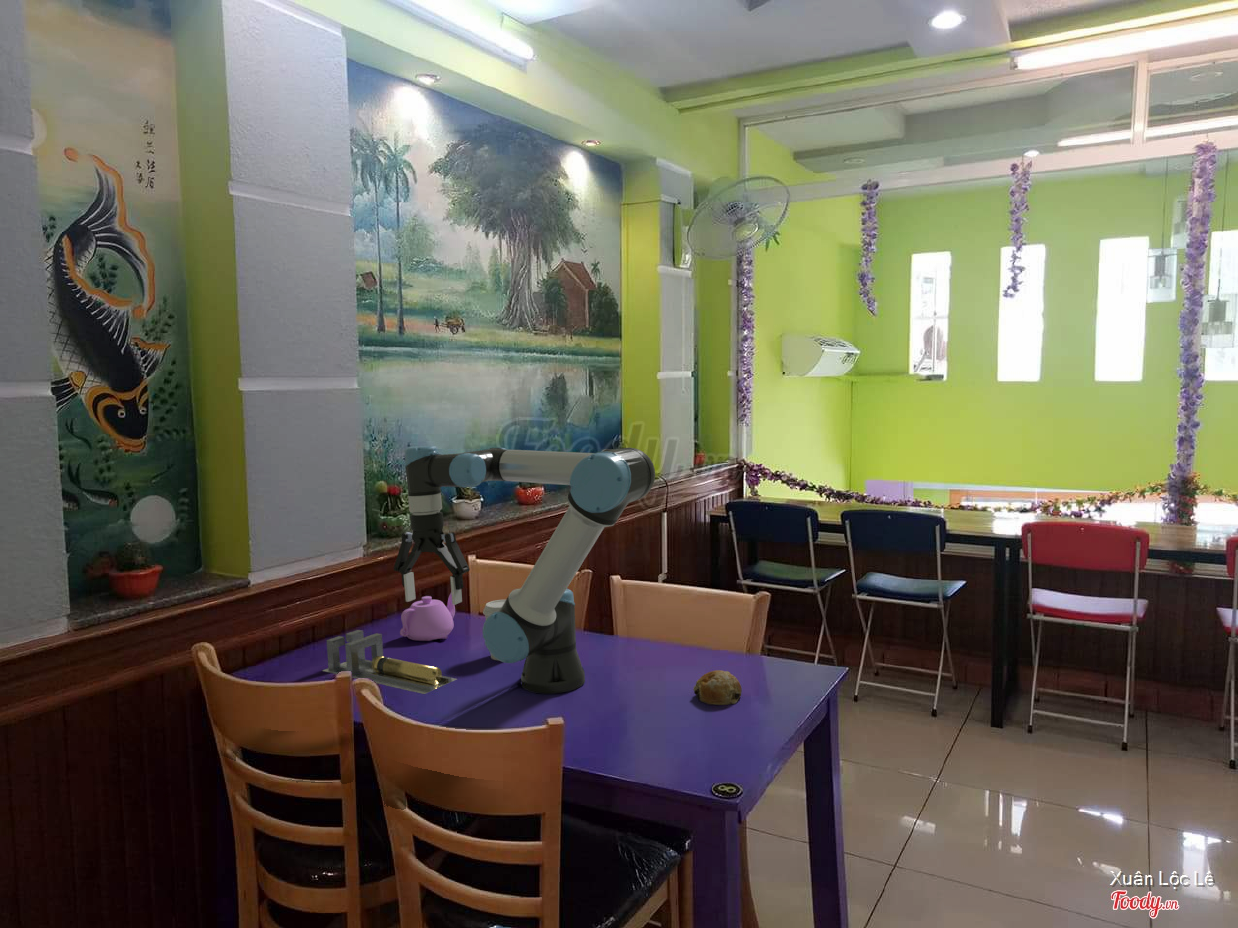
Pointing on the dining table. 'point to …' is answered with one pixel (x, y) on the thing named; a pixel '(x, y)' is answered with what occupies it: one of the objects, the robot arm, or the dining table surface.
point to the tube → (407, 670)
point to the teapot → (428, 619)
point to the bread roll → (718, 688)
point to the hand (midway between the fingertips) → (433, 601)
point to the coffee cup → (491, 608)
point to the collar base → (370, 662)
